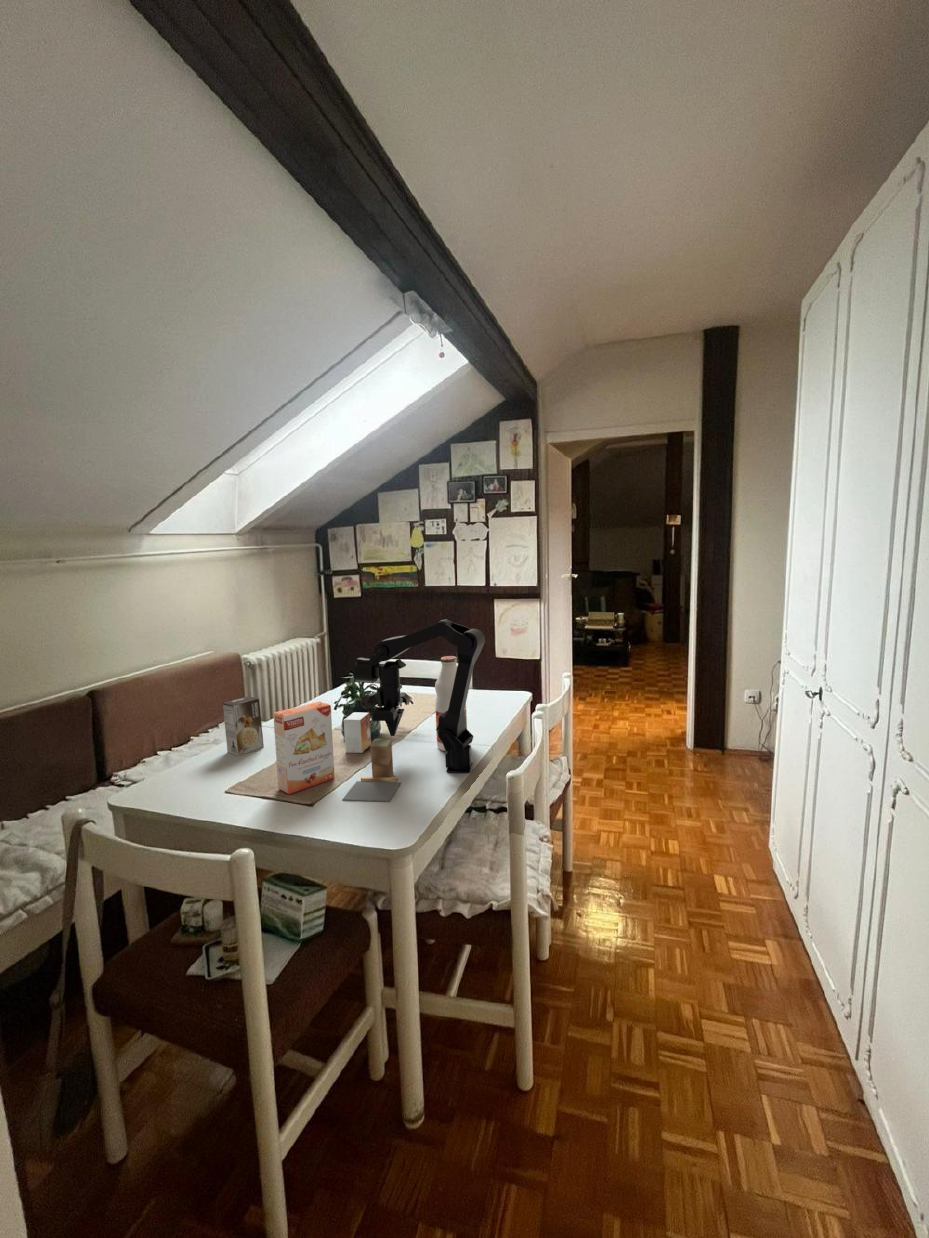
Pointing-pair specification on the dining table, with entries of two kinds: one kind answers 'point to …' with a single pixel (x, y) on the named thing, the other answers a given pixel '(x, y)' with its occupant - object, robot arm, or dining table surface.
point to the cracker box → (303, 746)
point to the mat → (372, 791)
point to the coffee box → (243, 725)
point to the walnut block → (382, 758)
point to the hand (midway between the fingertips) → (392, 735)
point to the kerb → (379, 779)
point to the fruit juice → (445, 690)
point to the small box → (357, 732)
